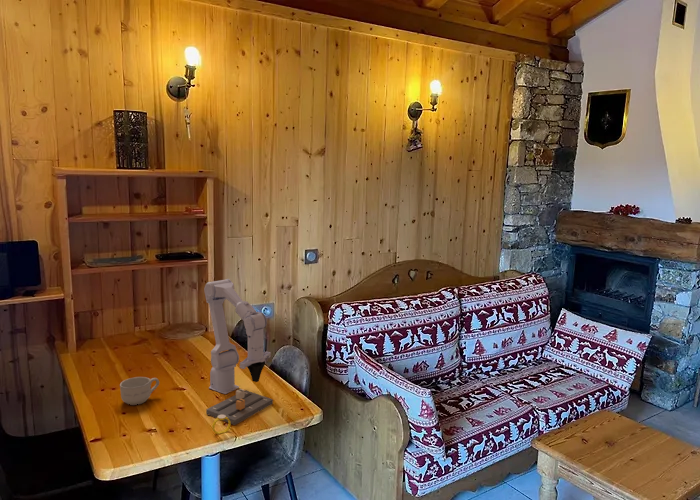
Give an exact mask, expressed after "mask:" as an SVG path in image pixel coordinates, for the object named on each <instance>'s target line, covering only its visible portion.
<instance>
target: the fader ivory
mask: <svg viewBox="0 0 700 500" xmlns="http://www.w3.org/2000/svg"><path fill="white" fill-rule="evenodd" d="M244 391H245V389H242V388H237V389H236V390H235V395H236V399H242V398H244Z"/></svg>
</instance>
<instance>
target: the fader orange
mask: <svg viewBox="0 0 700 500" xmlns="http://www.w3.org/2000/svg"><path fill="white" fill-rule="evenodd" d="M243 408H245V400H243V399H238V400H237V401H236V409H238V410H242V409H243Z"/></svg>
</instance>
